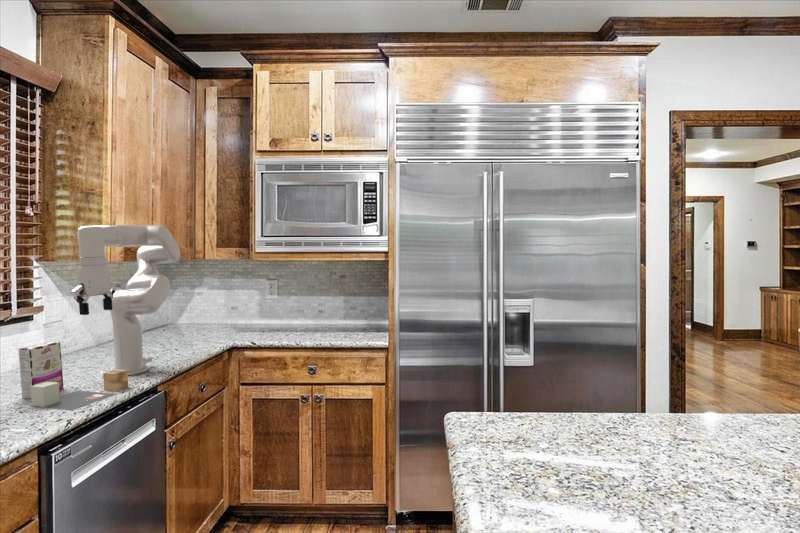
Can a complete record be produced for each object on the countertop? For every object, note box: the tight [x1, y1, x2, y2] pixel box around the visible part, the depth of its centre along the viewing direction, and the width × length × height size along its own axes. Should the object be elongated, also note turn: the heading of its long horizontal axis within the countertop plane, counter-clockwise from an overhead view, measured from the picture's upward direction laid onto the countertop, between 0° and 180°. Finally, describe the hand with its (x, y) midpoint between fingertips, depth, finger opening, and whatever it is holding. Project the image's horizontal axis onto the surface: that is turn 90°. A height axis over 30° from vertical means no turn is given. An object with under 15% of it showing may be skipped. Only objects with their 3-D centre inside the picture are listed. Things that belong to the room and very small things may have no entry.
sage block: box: [30, 382, 61, 408], centre depth 150 cm, size 5×5×6 cm
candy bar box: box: [18, 341, 64, 399], centre depth 161 cm, size 11×5×16 cm, turn 168°
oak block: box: [102, 369, 129, 392], centre depth 165 cm, size 5×5×6 cm
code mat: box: [30, 390, 118, 411], centre depth 154 cm, size 16×17×1 cm
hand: (96, 312), depth 168 cm, fingers open, 9 cm apart
